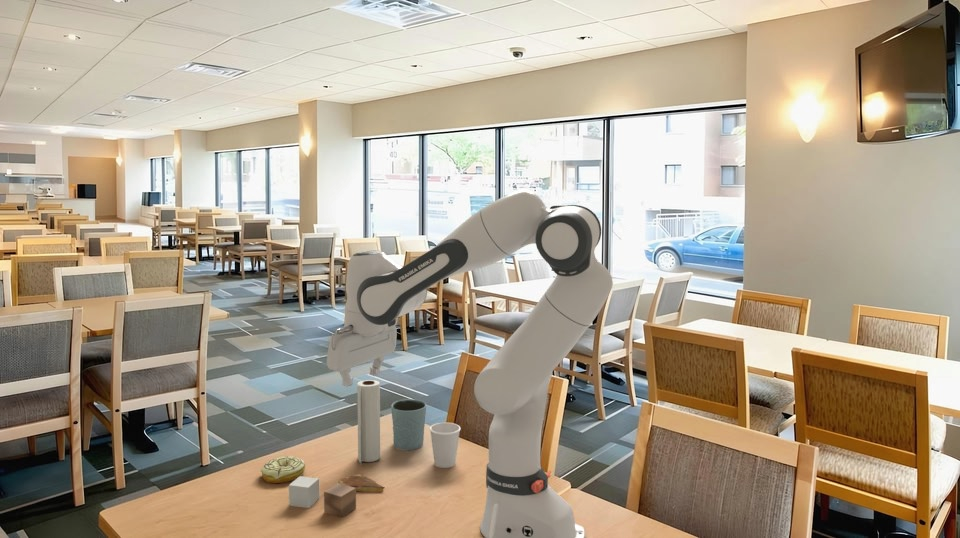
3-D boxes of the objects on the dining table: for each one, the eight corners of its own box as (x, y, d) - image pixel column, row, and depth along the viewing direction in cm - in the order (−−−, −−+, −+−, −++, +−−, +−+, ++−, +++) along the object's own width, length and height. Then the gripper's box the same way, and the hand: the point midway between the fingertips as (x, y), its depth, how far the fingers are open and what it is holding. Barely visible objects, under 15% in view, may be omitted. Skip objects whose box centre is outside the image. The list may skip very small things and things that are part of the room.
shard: (385, 493, 156) (385, 486, 156) (357, 503, 151) (357, 495, 150) (361, 478, 164) (361, 471, 164) (334, 487, 159) (334, 480, 158)
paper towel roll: (373, 452, 180) (372, 377, 177) (384, 459, 175) (384, 382, 173) (350, 458, 175) (349, 382, 173) (360, 465, 170) (360, 387, 168)
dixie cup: (423, 461, 174) (423, 425, 172) (450, 455, 178) (450, 420, 177) (439, 472, 167) (439, 435, 166) (466, 465, 171) (466, 429, 170)
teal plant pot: (413, 435, 192) (413, 397, 191) (433, 445, 185) (433, 405, 183) (384, 443, 186) (384, 403, 185) (403, 454, 178) (403, 412, 177)
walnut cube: (355, 508, 147) (355, 487, 147) (341, 518, 143) (341, 496, 142) (339, 503, 149) (338, 483, 149) (324, 512, 145) (323, 491, 145)
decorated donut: (252, 477, 163) (252, 463, 163) (288, 464, 172) (288, 450, 171) (277, 489, 157) (277, 474, 156) (313, 474, 165) (312, 460, 165)
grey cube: (319, 498, 152) (319, 478, 151) (308, 508, 147) (308, 487, 146) (300, 496, 153) (299, 476, 152) (289, 505, 148) (288, 485, 148)
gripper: (343, 333, 134) (340, 396, 136) (402, 316, 151) (399, 372, 154) (321, 327, 137) (318, 388, 139) (381, 311, 154) (378, 366, 157)
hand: (361, 380), depth 146 cm, fingers open, 8 cm apart
